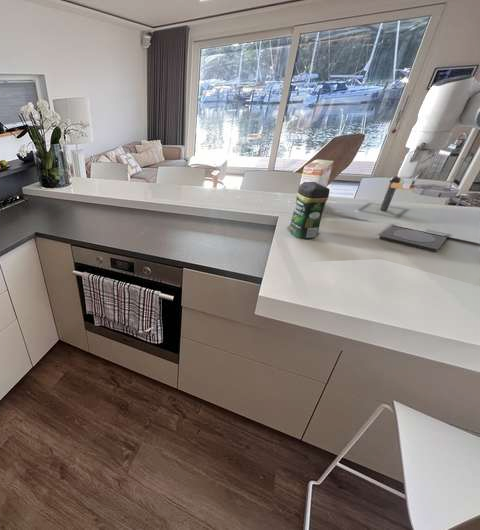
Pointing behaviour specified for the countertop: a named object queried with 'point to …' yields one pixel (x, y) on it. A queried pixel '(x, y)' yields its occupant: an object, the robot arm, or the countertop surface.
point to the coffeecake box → (317, 172)
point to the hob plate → (414, 238)
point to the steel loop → (425, 189)
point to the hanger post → (389, 194)
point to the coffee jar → (308, 210)
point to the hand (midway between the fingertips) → (407, 187)
